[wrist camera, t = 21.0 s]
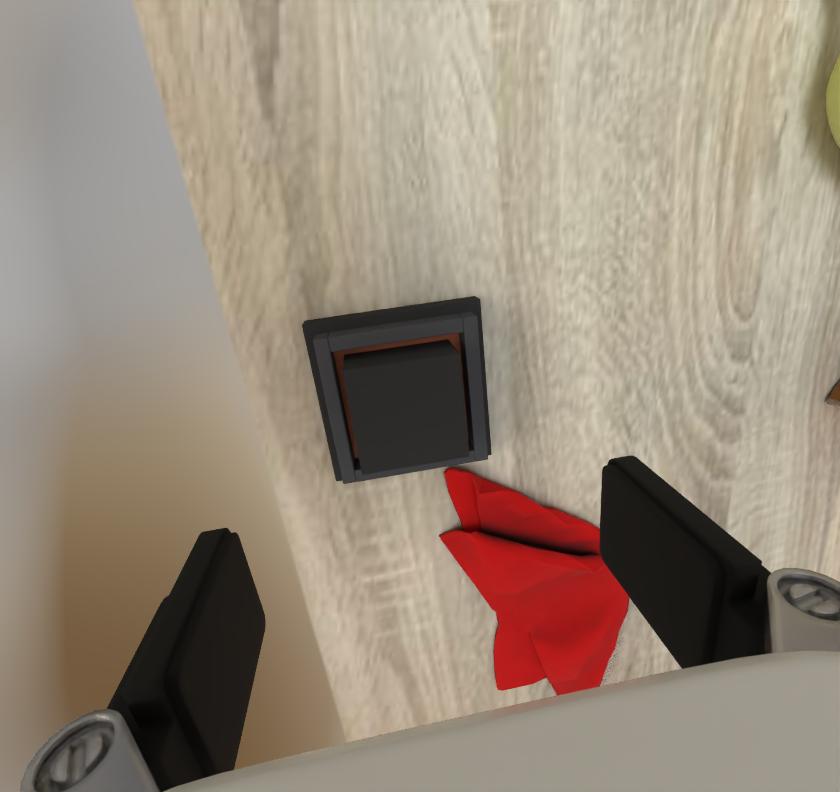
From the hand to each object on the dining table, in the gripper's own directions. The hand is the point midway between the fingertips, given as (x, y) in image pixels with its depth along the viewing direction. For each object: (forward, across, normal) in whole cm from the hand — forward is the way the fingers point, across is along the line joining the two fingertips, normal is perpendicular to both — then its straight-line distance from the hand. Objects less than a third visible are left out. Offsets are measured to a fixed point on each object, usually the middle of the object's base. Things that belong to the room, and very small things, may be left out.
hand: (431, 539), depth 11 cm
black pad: (+16, -1, +2) cm, 16 cm away
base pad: (+17, -1, +2) cm, 17 cm away
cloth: (+17, -10, +20) cm, 28 cm away
